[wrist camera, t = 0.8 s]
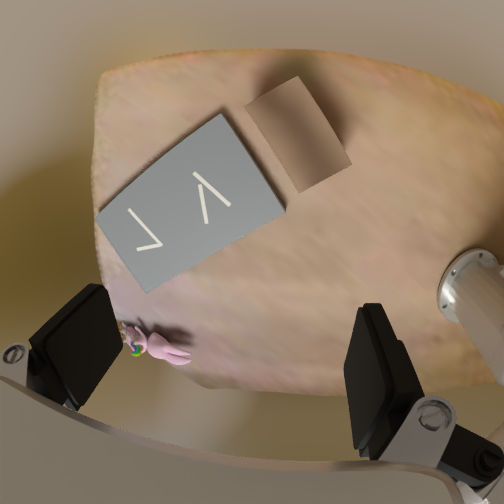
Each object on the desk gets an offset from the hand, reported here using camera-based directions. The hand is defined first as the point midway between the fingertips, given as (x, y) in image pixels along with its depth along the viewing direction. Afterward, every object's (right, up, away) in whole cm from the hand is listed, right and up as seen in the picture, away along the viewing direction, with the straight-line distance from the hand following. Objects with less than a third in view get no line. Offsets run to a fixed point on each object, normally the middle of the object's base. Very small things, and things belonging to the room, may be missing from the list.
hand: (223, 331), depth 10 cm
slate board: (-9, +8, +27) cm, 29 cm away
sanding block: (+6, +16, +21) cm, 28 cm away
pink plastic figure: (-16, -12, +37) cm, 42 cm away
